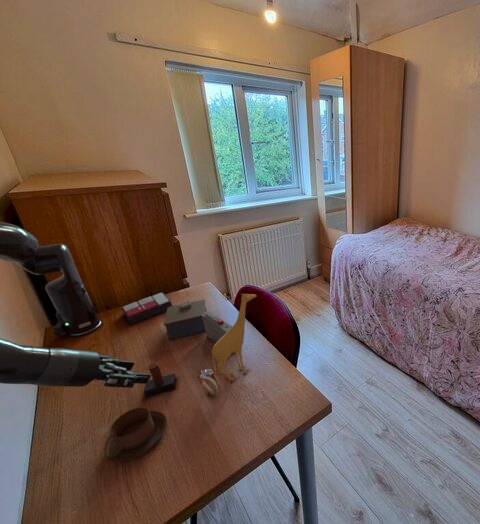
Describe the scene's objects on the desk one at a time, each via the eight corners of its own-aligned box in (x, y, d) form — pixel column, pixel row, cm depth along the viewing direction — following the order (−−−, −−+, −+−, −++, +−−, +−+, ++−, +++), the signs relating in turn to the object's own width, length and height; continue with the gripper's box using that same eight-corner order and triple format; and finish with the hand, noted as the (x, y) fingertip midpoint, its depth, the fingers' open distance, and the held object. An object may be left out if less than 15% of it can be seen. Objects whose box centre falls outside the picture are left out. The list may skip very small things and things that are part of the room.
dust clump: (182, 309, 105) (181, 307, 105) (180, 306, 107) (180, 303, 107) (191, 306, 107) (190, 304, 106) (189, 303, 109) (188, 301, 108)
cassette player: (239, 349, 95) (233, 324, 91) (231, 354, 93) (225, 329, 89) (214, 332, 104) (208, 309, 100) (207, 336, 102) (200, 312, 98)
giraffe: (262, 352, 94) (250, 285, 84) (270, 358, 91) (259, 290, 81) (214, 383, 82) (193, 310, 72) (222, 391, 80) (201, 316, 69)
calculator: (120, 306, 114) (162, 290, 124) (125, 315, 116) (165, 299, 126) (126, 317, 107) (170, 299, 117) (131, 326, 109) (173, 308, 118)
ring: (199, 392, 80) (192, 370, 76) (209, 384, 82) (202, 362, 79) (215, 402, 76) (208, 380, 73) (225, 393, 79) (219, 372, 76)
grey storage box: (167, 341, 100) (161, 324, 97) (170, 322, 110) (165, 307, 107) (209, 330, 105) (204, 314, 102) (208, 314, 115) (204, 299, 112)
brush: (175, 389, 81) (166, 366, 77) (146, 398, 78) (136, 375, 75) (176, 379, 84) (168, 356, 80) (148, 387, 81) (139, 364, 78)
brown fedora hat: (156, 459, 63) (148, 441, 61) (95, 472, 61) (83, 453, 58) (175, 412, 74) (168, 395, 71) (123, 421, 72) (114, 404, 69)
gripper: (88, 362, 59) (162, 368, 73) (63, 339, 66) (134, 349, 79) (66, 399, 57) (146, 398, 71) (43, 372, 64) (119, 376, 77)
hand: (140, 372), depth 75 cm, fingers open, 8 cm apart
